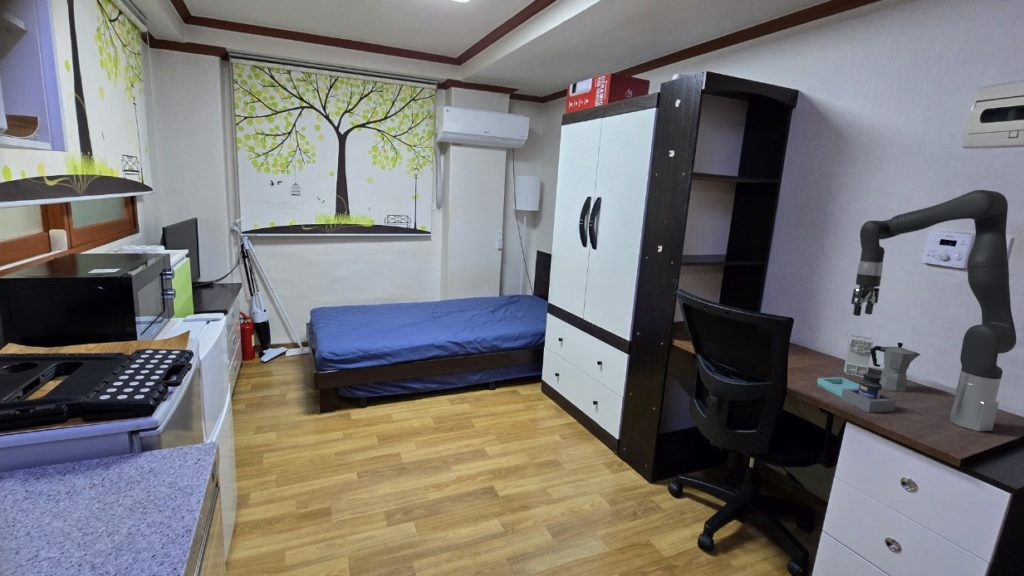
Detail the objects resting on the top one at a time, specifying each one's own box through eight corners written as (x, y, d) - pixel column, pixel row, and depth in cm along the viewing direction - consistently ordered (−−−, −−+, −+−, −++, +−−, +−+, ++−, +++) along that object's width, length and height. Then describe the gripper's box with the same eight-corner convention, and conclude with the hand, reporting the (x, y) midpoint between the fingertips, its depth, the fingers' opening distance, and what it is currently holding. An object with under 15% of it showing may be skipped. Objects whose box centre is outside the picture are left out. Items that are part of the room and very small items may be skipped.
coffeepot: (908, 386, 186) (917, 342, 183) (917, 395, 177) (927, 348, 174) (860, 379, 192) (869, 336, 188) (867, 387, 183) (876, 342, 180)
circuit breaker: (865, 368, 205) (871, 335, 203) (866, 378, 194) (873, 342, 191) (844, 364, 209) (850, 331, 207) (844, 373, 198) (850, 338, 195)
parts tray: (866, 396, 174) (868, 388, 173) (841, 397, 172) (843, 389, 171) (840, 384, 184) (841, 377, 184) (816, 385, 182) (818, 378, 182)
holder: (893, 411, 162) (895, 400, 161) (868, 412, 159) (870, 401, 159) (865, 398, 172) (867, 387, 171) (840, 399, 169) (842, 389, 169)
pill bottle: (853, 404, 166) (859, 374, 164) (858, 400, 170) (864, 370, 168) (875, 410, 161) (881, 379, 159) (879, 406, 165) (885, 376, 163)
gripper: (870, 275, 176) (863, 318, 178) (890, 274, 182) (883, 315, 185) (848, 272, 182) (842, 314, 185) (868, 271, 189) (861, 311, 191)
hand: (862, 314), depth 185 cm, fingers open, 8 cm apart
